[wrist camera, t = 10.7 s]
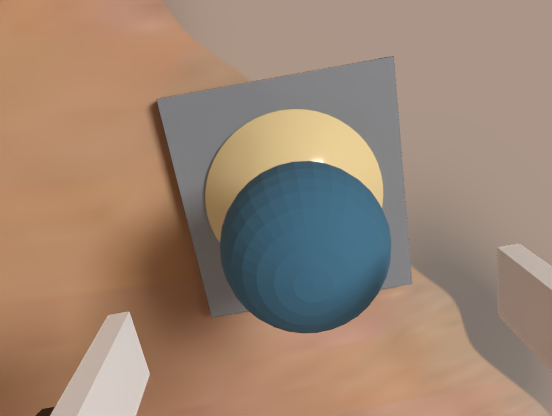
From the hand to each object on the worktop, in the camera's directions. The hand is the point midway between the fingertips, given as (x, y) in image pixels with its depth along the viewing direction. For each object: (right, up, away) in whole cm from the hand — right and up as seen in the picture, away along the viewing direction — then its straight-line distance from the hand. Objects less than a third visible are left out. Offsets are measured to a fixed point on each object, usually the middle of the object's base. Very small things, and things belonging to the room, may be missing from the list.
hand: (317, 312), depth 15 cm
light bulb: (0, +4, +14) cm, 14 cm away
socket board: (0, +5, +15) cm, 16 cm away
